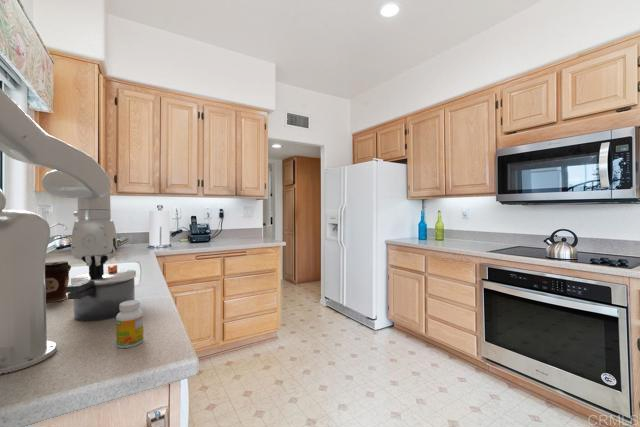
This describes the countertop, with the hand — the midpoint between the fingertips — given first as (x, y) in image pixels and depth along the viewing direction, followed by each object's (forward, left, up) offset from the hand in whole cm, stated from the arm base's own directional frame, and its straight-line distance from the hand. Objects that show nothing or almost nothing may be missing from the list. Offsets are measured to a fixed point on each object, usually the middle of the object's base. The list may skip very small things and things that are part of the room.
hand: (96, 278), depth 85 cm
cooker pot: (+2, 0, -11) cm, 12 cm away
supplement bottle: (-19, -18, -12) cm, 28 cm away
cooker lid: (+1, 0, -1) cm, 2 cm away
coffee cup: (+18, +24, -12) cm, 32 cm away
